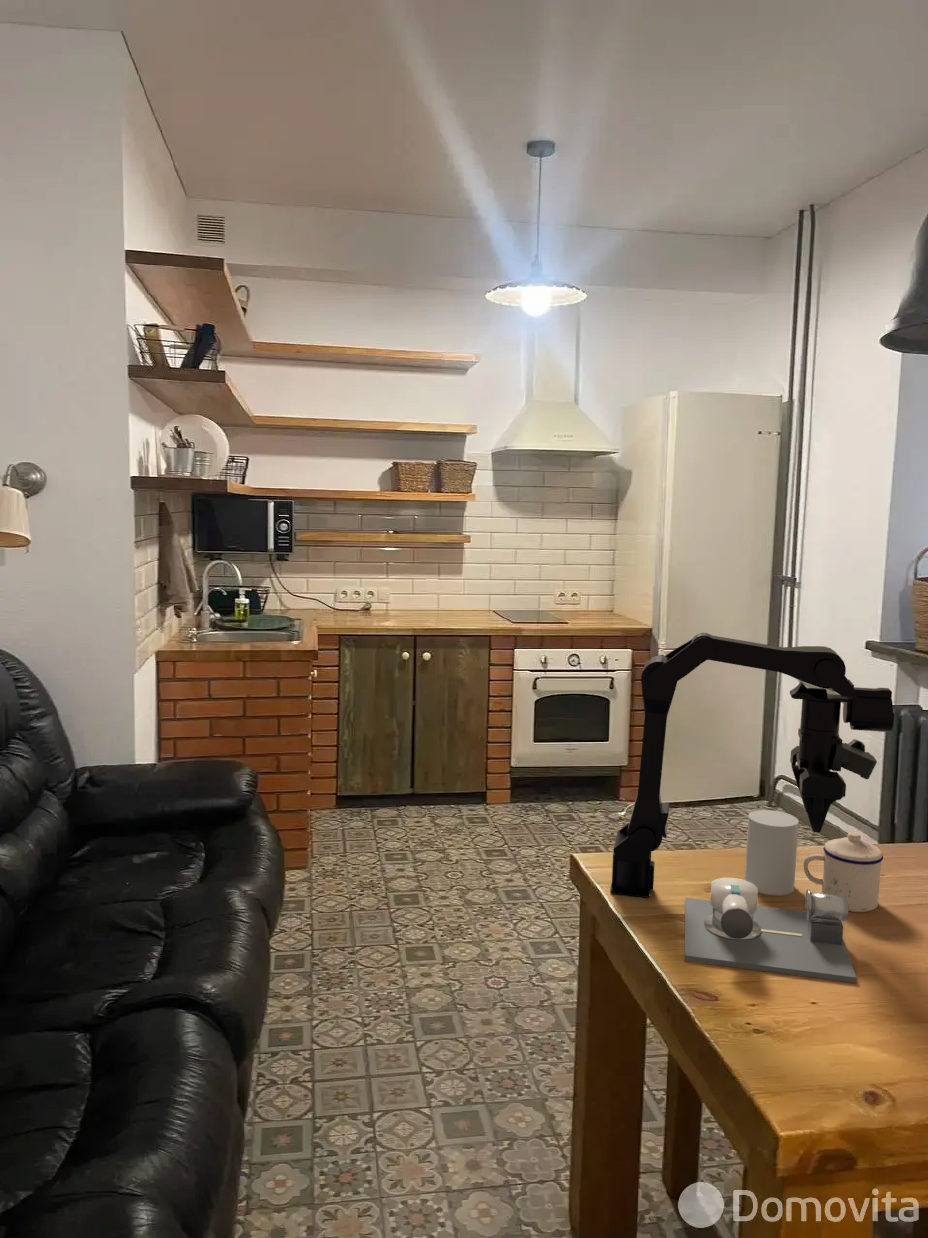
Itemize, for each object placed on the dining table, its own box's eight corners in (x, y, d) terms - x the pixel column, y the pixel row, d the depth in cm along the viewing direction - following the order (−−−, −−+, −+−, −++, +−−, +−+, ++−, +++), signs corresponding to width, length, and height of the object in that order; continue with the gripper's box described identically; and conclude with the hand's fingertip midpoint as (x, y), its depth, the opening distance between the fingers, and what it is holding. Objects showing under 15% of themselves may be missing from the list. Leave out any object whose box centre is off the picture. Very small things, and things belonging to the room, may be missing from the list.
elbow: (709, 898, 145) (711, 871, 144) (754, 903, 143) (756, 876, 143) (711, 935, 132) (713, 906, 132) (761, 942, 131) (762, 912, 130)
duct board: (684, 960, 132) (684, 954, 132) (685, 902, 151) (685, 896, 151) (856, 983, 127) (856, 976, 127) (834, 919, 146) (834, 914, 146)
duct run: (806, 943, 136) (810, 896, 135) (803, 929, 141) (806, 884, 140) (846, 947, 135) (849, 901, 134) (841, 934, 139) (844, 888, 138)
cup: (787, 877, 162) (791, 811, 161) (799, 896, 154) (804, 827, 153) (740, 874, 163) (744, 809, 162) (749, 894, 155) (753, 825, 154)
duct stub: (704, 936, 138) (705, 916, 138) (703, 912, 146) (704, 893, 146) (762, 943, 136) (764, 923, 136) (758, 918, 144) (760, 899, 144)
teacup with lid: (876, 894, 156) (881, 828, 154) (882, 917, 147) (887, 847, 146) (800, 884, 159) (805, 819, 158) (802, 906, 151) (807, 837, 149)
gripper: (886, 746, 135) (878, 848, 137) (863, 717, 153) (856, 808, 155) (805, 740, 138) (798, 840, 140) (793, 712, 155) (787, 802, 158)
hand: (812, 822), depth 148 cm, fingers open, 9 cm apart
